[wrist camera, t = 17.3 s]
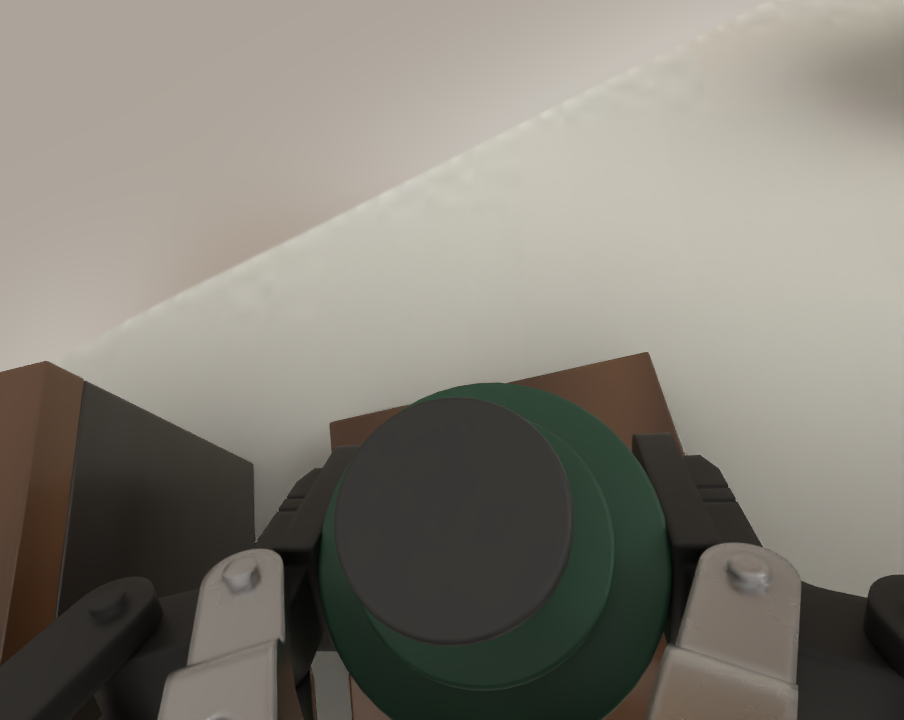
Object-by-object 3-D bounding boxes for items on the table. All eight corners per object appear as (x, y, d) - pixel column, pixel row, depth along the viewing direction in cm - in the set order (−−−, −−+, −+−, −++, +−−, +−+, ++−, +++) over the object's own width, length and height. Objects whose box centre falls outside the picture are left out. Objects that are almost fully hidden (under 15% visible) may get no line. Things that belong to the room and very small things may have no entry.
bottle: (590, 467, 18) (634, 236, 7) (647, 671, 15) (841, 788, 5) (414, 502, 18) (207, 338, 8) (441, 706, 16) (193, 885, 5)
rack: (639, 378, 21) (696, 201, 12) (770, 770, 16) (1039, 967, 7) (-1, 518, 23) (-354, 456, 14) (-67, 899, 18) (-678, 1173, 9)
